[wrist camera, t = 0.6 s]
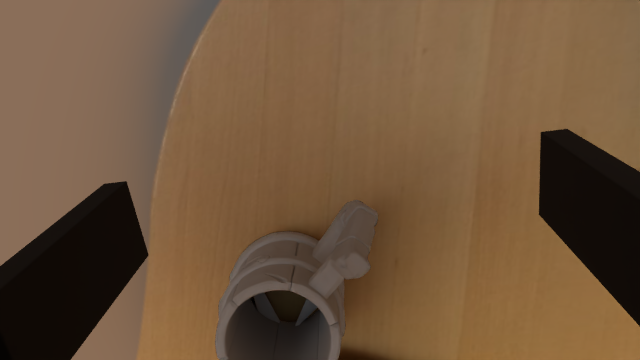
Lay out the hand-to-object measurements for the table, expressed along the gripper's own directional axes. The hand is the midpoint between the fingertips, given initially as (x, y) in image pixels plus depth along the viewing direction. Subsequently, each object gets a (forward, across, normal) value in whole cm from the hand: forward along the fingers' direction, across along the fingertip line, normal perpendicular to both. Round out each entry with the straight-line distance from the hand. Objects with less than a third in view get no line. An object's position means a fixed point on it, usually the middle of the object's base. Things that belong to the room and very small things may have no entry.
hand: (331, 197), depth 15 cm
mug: (+16, -4, -11) cm, 19 cm away
